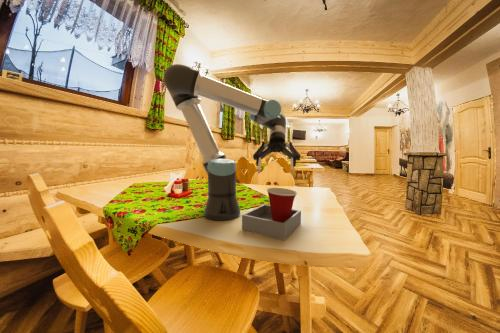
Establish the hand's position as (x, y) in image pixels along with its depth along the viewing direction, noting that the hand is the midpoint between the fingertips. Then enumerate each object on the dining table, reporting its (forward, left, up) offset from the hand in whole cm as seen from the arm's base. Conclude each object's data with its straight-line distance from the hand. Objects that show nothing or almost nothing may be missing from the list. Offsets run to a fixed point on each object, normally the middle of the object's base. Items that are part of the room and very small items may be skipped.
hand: (275, 171), depth 77 cm
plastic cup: (+6, -8, -18) cm, 20 cm away
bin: (+4, -11, -19) cm, 22 cm away
